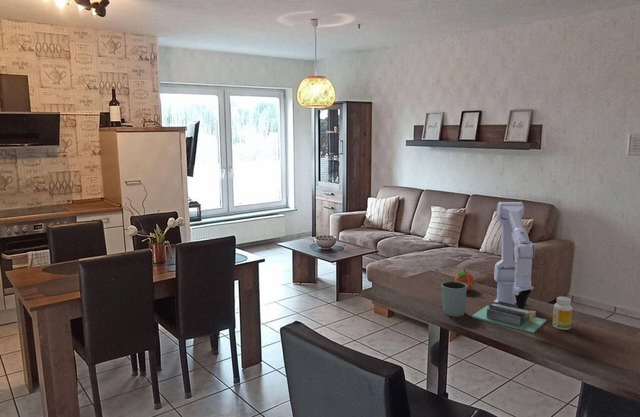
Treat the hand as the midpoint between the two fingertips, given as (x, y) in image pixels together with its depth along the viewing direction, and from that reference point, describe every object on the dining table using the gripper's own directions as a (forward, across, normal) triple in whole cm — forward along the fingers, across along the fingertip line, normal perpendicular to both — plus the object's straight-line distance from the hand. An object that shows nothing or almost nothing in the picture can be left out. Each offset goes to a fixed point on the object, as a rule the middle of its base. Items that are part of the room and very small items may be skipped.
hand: (521, 307), depth 188 cm
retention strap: (+2, 0, +4) cm, 5 cm away
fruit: (+6, +21, +33) cm, 40 cm away
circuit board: (+6, 0, +4) cm, 7 cm away
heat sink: (+5, 0, +3) cm, 6 cm away
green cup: (+6, -8, +24) cm, 26 cm away
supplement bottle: (+6, +5, -14) cm, 16 cm away
